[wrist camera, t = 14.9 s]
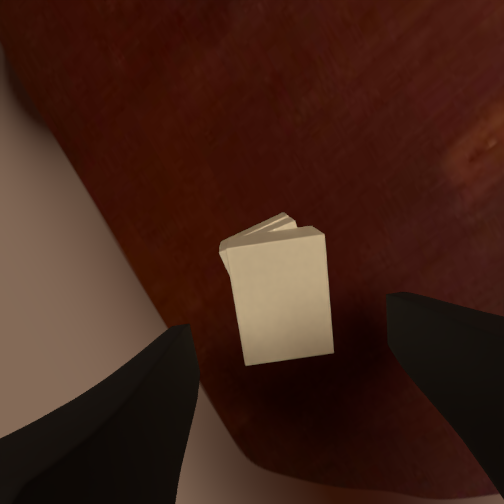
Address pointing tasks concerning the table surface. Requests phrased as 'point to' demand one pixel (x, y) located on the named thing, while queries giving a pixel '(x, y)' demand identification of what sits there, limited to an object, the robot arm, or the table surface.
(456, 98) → the table surface
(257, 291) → the cream rectangular block
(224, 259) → the cream seamed block
